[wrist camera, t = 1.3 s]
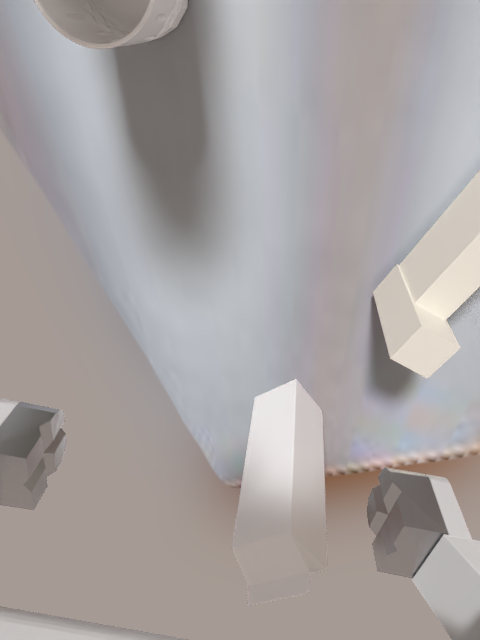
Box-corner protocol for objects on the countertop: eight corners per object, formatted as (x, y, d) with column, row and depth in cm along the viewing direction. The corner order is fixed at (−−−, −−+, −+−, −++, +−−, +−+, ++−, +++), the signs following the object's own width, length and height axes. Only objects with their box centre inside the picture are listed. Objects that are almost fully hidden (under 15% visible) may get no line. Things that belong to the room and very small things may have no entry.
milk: (322, 410, 52) (332, 612, 34) (280, 427, 54) (268, 624, 36) (295, 377, 50) (290, 573, 31) (253, 396, 52) (224, 588, 34)
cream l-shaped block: (501, 140, 33) (570, 174, 24) (536, 163, 34) (616, 205, 25) (373, 292, 41) (390, 358, 33) (402, 309, 42) (427, 378, 33)
